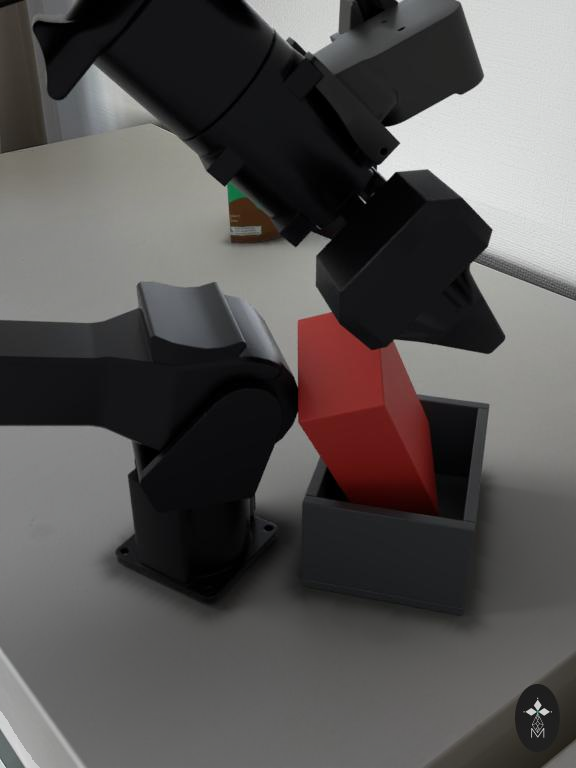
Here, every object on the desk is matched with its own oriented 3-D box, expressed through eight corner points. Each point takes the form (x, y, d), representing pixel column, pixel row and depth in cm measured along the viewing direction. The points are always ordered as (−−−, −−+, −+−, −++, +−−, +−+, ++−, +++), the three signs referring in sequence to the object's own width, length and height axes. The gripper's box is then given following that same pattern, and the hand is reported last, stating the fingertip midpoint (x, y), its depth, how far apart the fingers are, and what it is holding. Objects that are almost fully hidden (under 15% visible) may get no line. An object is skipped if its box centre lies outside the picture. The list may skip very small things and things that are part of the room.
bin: (462, 616, 43) (474, 530, 40) (301, 586, 45) (301, 502, 42) (478, 480, 52) (489, 403, 49) (344, 460, 54) (347, 384, 51)
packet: (366, 528, 47) (297, 422, 39) (361, 435, 50) (296, 319, 42) (439, 516, 46) (384, 404, 37) (429, 422, 49) (376, 300, 41)
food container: (290, 253, 82) (290, 147, 77) (226, 248, 83) (222, 143, 78) (313, 208, 92) (314, 112, 87) (256, 204, 93) (254, 109, 88)
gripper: (463, -60, 25) (705, 254, 33) (305, -93, 41) (496, 127, 49) (211, 222, 28) (491, 451, 36) (152, 90, 43) (356, 271, 51)
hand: (456, 301), depth 43 cm, fingers open, 9 cm apart
